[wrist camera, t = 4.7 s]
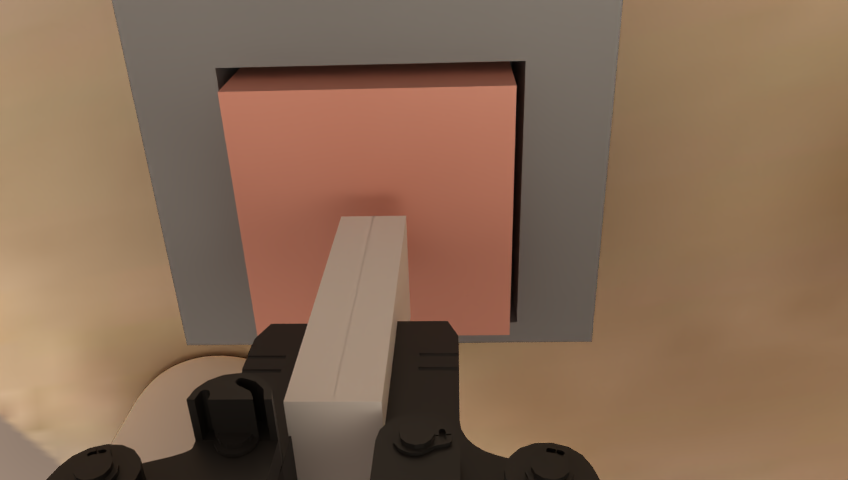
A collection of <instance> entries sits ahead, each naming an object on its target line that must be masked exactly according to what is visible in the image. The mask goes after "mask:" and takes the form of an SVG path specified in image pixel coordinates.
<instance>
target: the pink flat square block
mask: <svg viewBox="0 0 848 480" xmlns="http://www.w3.org/2000/svg"><path fill="white" fill-rule="evenodd" d="M516 89H517V85H516V82H515V78H514V75H513V72H512V68H511V65H510V61H497V62H454V63H410V64H367V65H323V66H280V67H241V68H240V69H239V70H238V71H237V72H236V73H235V74H234V75H233V76H232V77H231V78H230V79H229V80H228V81H227V83H226V84H225V85H224V86H223V87H222V88H221V89H220V90H219V91H218V98H219V104H220V110H221V116H222V122H223V129H224V135H225V141H226V147H227V153H228V159H229V165H230V171H231V178H232V184H233V190H234V196H235V202H236V208H237V214H238V220H239V226H240V233H241V239H242V245H243V251H244V257H245V263H246V269H247V275H248V282H249V288H250V294H251V300H252V306H253V312H254V318H255V324H256V331H257V336H258V335H259V334H260V333H261V332H263V331H264V330H265V329H266V328H267V327H268V326H269V325H270V324H307V323H308V321H309V318H310V315H311V312H312V309H313V305H314V302H315V299H316V296H317V293H318V289H319V286H320V283H321V280H322V276H323V273H324V270H325V267H326V264H327V260H328V257H329V254H330V251H331V248H332V244H333V241H334V238H335V235H336V232H337V228H338V225H339V222H340V219H341V216H406V225H407V248H408V270H409V292H410V314H411V317H410V321H448V322H449V323H450V325H451V326H452V328H453V329H454V330H455V332H456V333H457V335H509V334H510V299H511V264H512V229H513V194H514V159H515V124H516Z"/></svg>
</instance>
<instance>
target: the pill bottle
mask: <svg viewBox="0 0 848 480" xmlns="http://www.w3.org/2000/svg"><path fill="white" fill-rule="evenodd" d="M245 361H246V359H245V358H240V357H233V356H206V357H200V358H195V359H191V360H188V361H185V362H182V363H179V364H177V365H175V366H173V367H171V368H169V369H167V370H166V371H164V372H163V373H161V374H160V375H158V376H157V377H156V378H155V379H154V380H153V381H152V382H151V383H150V384H149V385H148V386H147V387H146V388H145V390H144V391H143V392H142V394H141V395H140V396H139V397H138V399H137V400H136V401H135V403H134V405H133V407H132V408H131V410H130V412H129V413H128V415H127V417H126V419H125V420H124V422H123V424H122V426H121V427H120V429H119V431H118V433H117V434H116V436H115V438H114V439H113V441H112V443H111V444H112V445H124V446H126V447H129V448H131V449H134V450H135V451H136V453H137V454H138V455H139V457H140V458H141V461H142V463H146V462H150V461H154V460H158V459H163V458H167V457H171V456H175V455H178V454H181V453H184V452H186V451H188V450H190V449H192V448H193V445H194V443H195V436H194V432H193V427H192V423H191V418H190V414H189V409H188V405H187V400H186V399H187V398H188V397H189V396H190V394H191V393H192V392H193V391H194V389H196V388H197V387H199V386H200V385H202V384H203V383H205V382H206V381H208V380H211V379H213V378H216V377H219V376H222V375H227V374H235V373H242V368H243V366H244V363H245Z"/></svg>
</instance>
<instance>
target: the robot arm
mask: <svg viewBox="0 0 848 480" xmlns="http://www.w3.org/2000/svg"><path fill="white" fill-rule="evenodd" d="M410 317H411V314H410V292H409V270H408V248H407V225H406V216H341V219H340V222H339V225H338V228H337V232H336V235H335V238H334V241H333V244H332V248H331V251H330V254H329V257H328V260H327V264H326V267H325V270H324V273H323V276H322V280H321V283H320V286H319V289H318V293H317V296H316V299H315V302H314V305H313V309H312V312H311V315H310V318H309V321H308V323H307V324H270V325H269V326H268V327H267V328H266V329H265V330H264V331H263V332H261V333H260V334H259V335H258V336H257V337H256V338H255V339H254V342H253V344H252V346H251V349H250V351H249V354H248V359H246V361H245V363H244V366H243V368H242V373H235V374H227V375H222V376H219V377H216V378H213V379H211V380H208V381H206V382H205V383H203V384H202V385H200V386H199V387H197V388H196V389H194V391H193V392H192V393H191V394H190V396H189V397H188V398H187V399H186V400H187V405H188V409H189V414H190V418H191V423H192V427H193V432H194V436H195V443H194V445H193V448H192V449H190V450H188V451H186V452H184V453H181V454H178V455H175V456H171V457H167V458H163V459H158V460H154V461H150V462H146V463H142V461H141V458H140V457H139V455H138V454H137V453H136V451H135V450H134V449H131V448H129V447H126V446H124V445H112V444H106V445H101V446H97V447H93V448H89V449H87V450H85V451H82V452H80V453H78V454H76V455H74V456H72V457H71V458H70V459H68V460H67V461H66V462H64V463H63V464H62V465H61V466H59V467H58V468H57V469H56V470H55V471H54V472H53V474H51V475H50V476H49V478H48V479H47V480H600V479H599V478H598V476H597V474H596V472H595V471H594V469H593V467H592V466H591V465H590V463H589V462H588V461H587V460H586V459H585V458H584V456H583V455H581V454H579V453H578V452H576V451H574V450H573V449H571V448H569V447H566V446H562V445H558V444H554V443H534V444H531V445H528V446H525V447H522V448H520V449H518V450H517V451H516V452H515V453H514V454H512V455H511V456H510V457H509V458H505V457H501V456H497V455H494V454H491V453H488V452H485V451H483V450H481V449H480V448H478V447H476V446H475V445H473V444H472V443H471V442H470V441H469V440H468V439H467V438H466V437H465V435H464V433H463V432H462V430H461V426H460V421H459V344H458V335H457V333H456V332H455V330H454V329H453V328H452V326H451V325H450V323H449V322H448V321H410Z"/></svg>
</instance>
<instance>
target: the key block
mask: <svg viewBox="0 0 848 480" xmlns="http://www.w3.org/2000/svg"><path fill="white" fill-rule="evenodd" d="M112 3H113V8H114V13H115V17H116V22H117V26H118V31H119V35H120V40H121V45H122V49H123V54H124V58H125V63H126V67H127V72H128V77H129V81H130V86H131V90H132V95H133V100H134V104H135V109H136V113H137V118H138V122H139V127H140V132H141V136H142V141H143V145H144V150H145V154H146V159H147V164H148V168H149V173H150V177H151V182H152V186H153V191H154V196H155V200H156V205H157V209H158V214H159V219H160V223H161V228H162V232H163V237H164V241H165V246H166V251H167V255H168V260H169V264H170V269H171V273H172V278H173V283H174V287H175V292H176V296H177V301H178V306H179V310H180V315H181V319H182V324H183V328H184V333H185V338H186V342H187V345H252V344H253V342H254V339H255V338H256V337H257V331H256V324H255V318H254V312H253V306H252V300H251V294H250V288H249V282H248V275H247V269H246V263H245V257H244V251H243V245H242V239H241V233H240V226H239V220H238V214H237V208H236V202H235V196H234V190H233V184H232V178H231V171H230V165H229V159H228V153H227V147H226V141H225V135H224V129H223V122H222V116H221V110H220V104H219V98H218V91H219V90H220V89H221V88H222V87H223V86H224V85H225V84H226V83H227V81H228V80H229V79H230V78H231V77H232V76H233V75H234V74H235V73H236V72H237V71H238V70H239V69H240V68H241V67H280V66H323V65H367V64H410V63H454V62H497V61H510V65H511V68H512V72H513V75H514V78H515V82H516V85H517V89H516V124H515V159H514V194H513V229H512V264H511V299H510V334H509V335H458V343H486V342H592V333H593V322H594V311H595V300H596V289H597V278H598V267H599V256H600V245H601V234H602V223H603V212H604V202H605V191H606V180H607V169H608V158H609V147H610V136H611V125H612V114H613V103H614V92H615V81H616V71H617V60H618V49H619V38H620V27H621V16H622V5H623V0H112Z"/></svg>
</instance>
